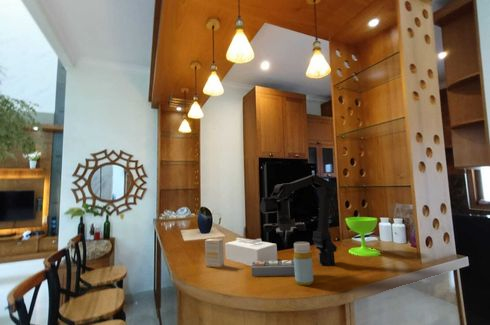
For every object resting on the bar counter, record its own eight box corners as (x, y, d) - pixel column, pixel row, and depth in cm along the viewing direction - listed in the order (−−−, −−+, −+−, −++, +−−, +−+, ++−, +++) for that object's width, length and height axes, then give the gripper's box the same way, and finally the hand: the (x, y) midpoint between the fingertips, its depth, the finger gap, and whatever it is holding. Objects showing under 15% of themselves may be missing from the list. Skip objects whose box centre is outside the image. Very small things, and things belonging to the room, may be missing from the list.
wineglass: (343, 253, 133) (340, 219, 135) (355, 247, 144) (352, 216, 146) (374, 258, 122) (370, 221, 124) (385, 251, 132) (381, 217, 134)
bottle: (293, 280, 99) (290, 242, 100) (310, 278, 99) (307, 240, 101) (298, 286, 92) (295, 245, 94) (316, 285, 93) (313, 244, 94)
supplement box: (224, 265, 123) (223, 238, 124) (219, 268, 119) (218, 240, 120) (210, 263, 126) (209, 238, 128) (205, 266, 122) (204, 239, 123)
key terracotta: (264, 265, 112) (264, 260, 112) (264, 268, 108) (264, 263, 108) (255, 265, 112) (255, 260, 112) (255, 268, 108) (255, 263, 108)
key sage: (277, 265, 111) (277, 260, 112) (278, 267, 107) (277, 262, 108) (268, 265, 112) (268, 260, 112) (268, 268, 108) (268, 263, 108)
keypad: (294, 268, 113) (293, 260, 113) (296, 275, 104) (295, 266, 104) (253, 269, 114) (252, 261, 115) (252, 276, 106) (251, 267, 106)
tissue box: (258, 268, 116) (256, 244, 118) (225, 259, 135) (224, 238, 136) (277, 261, 126) (276, 239, 127) (244, 253, 144) (243, 234, 146)
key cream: (290, 264, 111) (290, 259, 111) (291, 267, 107) (291, 262, 107) (282, 264, 111) (281, 260, 111) (282, 267, 107) (282, 262, 107)
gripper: (262, 214, 104) (264, 252, 103) (306, 212, 103) (309, 250, 101) (262, 211, 115) (264, 245, 114) (302, 210, 114) (305, 244, 112)
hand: (285, 246), depth 110 cm, fingers closed
